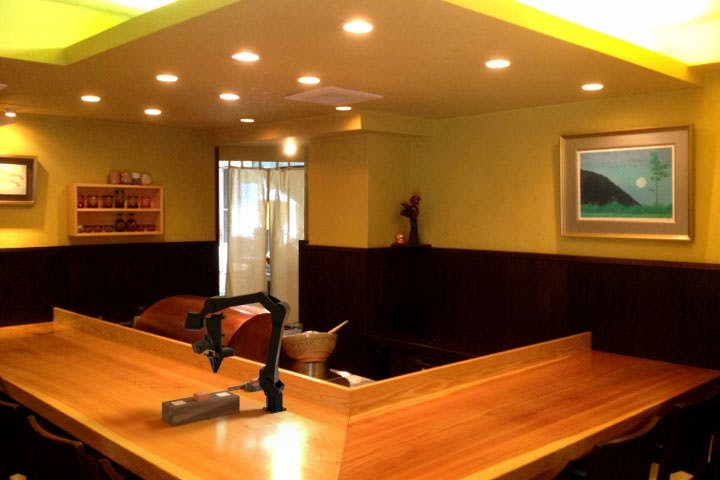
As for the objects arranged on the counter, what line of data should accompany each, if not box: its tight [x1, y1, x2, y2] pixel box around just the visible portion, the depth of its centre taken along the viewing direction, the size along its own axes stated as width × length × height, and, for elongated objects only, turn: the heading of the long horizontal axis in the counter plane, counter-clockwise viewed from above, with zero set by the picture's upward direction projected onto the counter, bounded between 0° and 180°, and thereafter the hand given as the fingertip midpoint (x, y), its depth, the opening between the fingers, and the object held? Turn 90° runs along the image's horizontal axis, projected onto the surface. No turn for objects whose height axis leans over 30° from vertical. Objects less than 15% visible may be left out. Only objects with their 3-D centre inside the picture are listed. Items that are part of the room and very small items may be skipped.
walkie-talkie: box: [227, 377, 263, 393], centre depth 283 cm, size 9×4×20 cm
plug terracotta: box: [192, 390, 210, 402], centre depth 246 cm, size 4×4×6 cm
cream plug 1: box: [171, 400, 187, 406], centre depth 241 cm, size 4×4×6 cm
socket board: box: [161, 389, 241, 427], centre depth 246 cm, size 10×25×6 cm, turn 129°
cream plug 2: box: [215, 392, 231, 397], centre depth 252 cm, size 4×4×6 cm
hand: (215, 373), depth 256 cm, fingers closed
